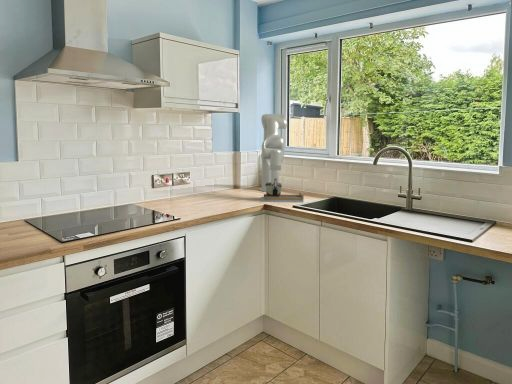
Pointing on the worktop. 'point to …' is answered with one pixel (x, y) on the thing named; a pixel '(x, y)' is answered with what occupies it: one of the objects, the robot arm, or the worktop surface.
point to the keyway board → (284, 198)
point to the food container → (270, 190)
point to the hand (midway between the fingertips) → (274, 194)
